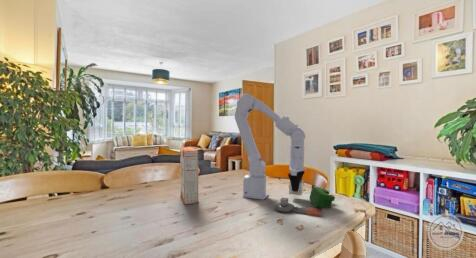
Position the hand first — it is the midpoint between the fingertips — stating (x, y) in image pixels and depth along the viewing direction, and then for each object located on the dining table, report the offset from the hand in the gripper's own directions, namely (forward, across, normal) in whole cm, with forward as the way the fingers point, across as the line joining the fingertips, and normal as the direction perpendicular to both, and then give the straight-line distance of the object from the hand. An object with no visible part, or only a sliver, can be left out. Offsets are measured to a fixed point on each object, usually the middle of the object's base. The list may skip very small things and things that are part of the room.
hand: (296, 189), depth 106 cm
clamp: (+4, -3, -10) cm, 12 cm away
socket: (+2, 0, 0) cm, 2 cm away
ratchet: (+4, -15, -3) cm, 16 cm away
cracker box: (+4, -18, +41) cm, 45 cm away
